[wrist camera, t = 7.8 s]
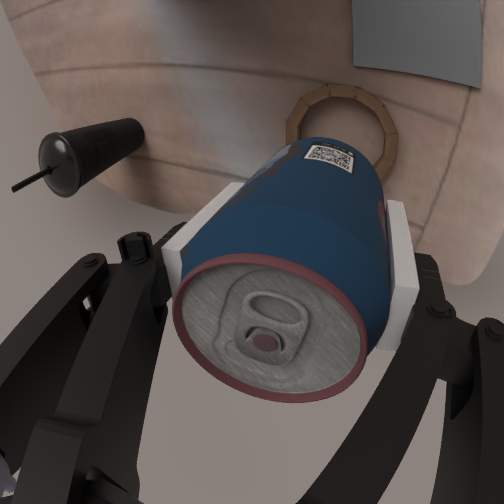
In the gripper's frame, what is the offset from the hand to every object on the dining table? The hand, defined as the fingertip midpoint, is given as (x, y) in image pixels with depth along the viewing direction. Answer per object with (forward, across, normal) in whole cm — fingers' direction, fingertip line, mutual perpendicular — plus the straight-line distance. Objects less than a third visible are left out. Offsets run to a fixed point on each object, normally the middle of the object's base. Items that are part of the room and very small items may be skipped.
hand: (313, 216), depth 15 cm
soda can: (+4, 0, 0) cm, 4 cm away
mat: (+21, +8, +14) cm, 26 cm away
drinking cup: (+21, -28, 0) cm, 35 cm away
